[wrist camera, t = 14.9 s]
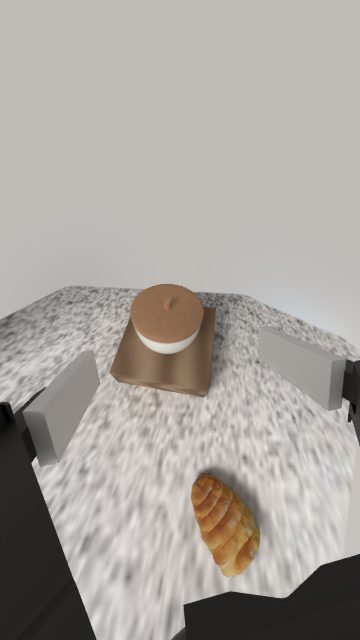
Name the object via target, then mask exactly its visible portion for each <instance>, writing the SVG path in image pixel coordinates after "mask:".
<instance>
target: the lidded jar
mask: <svg viewBox="0 0 360 640" xmlns="http://www.w3.org/2000/svg"><path fill="white" fill-rule="evenodd" d="M130 315H131V320H132V323H133V325H134V328H135V330H136V333H137V335H138V337H139V338H140V340H141V341H142V342H143V344H144V345H145V346H147V347H148V348H149V349H151V350H153V351H155V352H157V353H162V354H173V353H177V352H180V351H182V350H183V349H185V348H186V347H188V346H189V345H190V344H191V343H192V342H193V340H194V339H195V337H196V336H197V334H198V331H199V328H200V325H201V323H202V320H203V315H204V310H203V305H202V303H201V301H200V299H199V298H198V297H197V296H196V295H195V294H194V293H193V292H192V291H190V290H189V289H186V288H185V287H182V286H178V285H173V284H160V285H156V286H152V287H150V288H147V289H145V290H144V291H142V292H141V293H140V294H139V295H138V296H137V297H136V298H135V299H134V301H133V303H132V305H131V310H130Z"/></svg>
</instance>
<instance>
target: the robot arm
mask: <svg viewBox="0 0 360 640" xmlns="http://www.w3.org/2000/svg"><path fill="white" fill-rule="evenodd" d="M259 359H260V360H261V361H263V362H264V363H265V364H267V365H268V366H269V367H271V368H272V369H273V370H275V371H276V372H277V373H279V374H280V375H281V376H283V377H284V378H285V379H287V380H288V381H289V382H291V383H292V384H293V385H295V386H296V387H297V388H299V389H300V390H301V391H303V392H304V393H305V394H307V395H308V396H309V397H311V398H312V399H313V400H315V401H316V402H317V403H318V404H320V405H321V406H322V407H324V408H325V409H326V410H328V411H329V410H334V409H339V408H341V406H342V397H343V398H345V399H346V400H348V401H350V404H349V413H348V422H351V420H352V421H353V424H354V428H355V431H356V435H357V438H358V441H359V445H360V360H358V361H355V362H352V361H350V360H348V359H346V358H343V357H341V356H338V355H336V354H333V353H331V352H329V351H326V350H324V349H321V348H319V347H316V346H314V345H312V344H309V343H307V342H304V341H302V340H299V339H297V338H295V337H292V336H290V335H287V334H285V333H282V332H280V331H278V330H275V329H273V328H270V327H268V326H266V327H259ZM99 385H100V380H99V376H98V371H97V366H96V361H95V357H94V352H93V350H91V351H84V352H82V353H81V354H80V355H79V356H78V357H77V358H76V359H75V360H74V361H73V362H72V363H71V364H70V365H69V366H68V367H67V368H66V369H65V370H64V371H63V372H62V373H61V374H60V375H59V376H58V377H57V378H56V379H55V380H54V381H53V382H52V383H51V384H50V385H49V386H48V387H46V388H43V389H42V390H40V391H39V392H37V393H36V394H35V395H33V396H32V397H31V398H30V399H29V401H27V402H26V403H25V404H24V406H22V407H21V408H20V409H19V410H18V411H17V412H16V413H15V414H14V415H13V412H12V409H11V406H10V404H9V403H8V402H0V640H96V637H95V634H94V632H93V629H92V626H91V623H90V621H89V618H88V615H87V612H86V610H85V607H84V604H83V602H82V599H81V596H80V594H79V591H78V588H77V586H76V583H75V581H74V579H73V577H72V574H71V571H70V568H69V566H68V563H67V560H66V557H65V555H64V552H63V549H62V546H61V544H60V541H59V538H58V536H57V533H56V530H55V527H54V525H53V522H52V519H51V516H50V514H49V511H48V508H47V505H46V503H45V500H44V497H43V494H42V492H41V489H40V486H39V484H38V481H37V478H36V475H35V473H34V470H33V467H32V464H31V463H32V461H33V460H34V458H35V457H36V456H37V459H38V462H39V465H40V466H46V465H51V464H56V463H59V461H60V459H61V457H62V455H63V454H64V452H65V450H66V448H67V446H68V444H69V442H70V440H71V438H72V436H73V434H74V433H75V431H76V429H77V427H78V425H79V423H80V421H81V419H82V417H83V415H84V413H85V411H86V410H87V408H88V406H89V404H90V402H91V400H92V398H93V396H94V394H95V392H96V390H97V389H98V387H99ZM184 616H185V627H184V628H183V629H182V630H181V631H180V632H179V633H177V634H176V635H175V636H174V637H173V638H172V640H360V554H358V555H355V556H351V557H348V558H344V559H341V560H338V561H334V562H331V563H327V564H324V565H321V566H320V567H319V568H318V569H317V570H315V571H314V572H313V573H312V574H311V575H310V576H309V577H308V578H307V579H306V580H305V581H304V582H303V583H302V584H301V585H300V586H299V587H298V588H297V589H296V590H295V591H294V592H293V593H291V594H290V595H289V596H288V597H286V598H274V597H267V596H260V595H253V594H246V593H239V592H231V591H230V592H227V593H223V594H220V595H216V596H213V597H209V598H206V599H202V600H199V601H195V602H192V603H188V604H185V605H184Z"/></svg>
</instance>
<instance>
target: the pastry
mask: <svg viewBox="0 0 360 640" xmlns="http://www.w3.org/2000/svg"><path fill="white" fill-rule="evenodd" d="M191 501H192V504H193V507H194V511H195V517H196V520H197V523H198V525H199V527H200V530H201V537H202V540H203V541H204V542H205V543H206V545H207V546H208V548H209V550H210V551H211V553H212V555H213V558H214V561H215V563H216V564H217V565H218V566H219V567H220V568H221V571H222V574H223V575H224V576H226V577H234V576H236V575H240V574H241V573H243V572H244V570H245V569H246V568H247V567H248V566H249V565H250V564H251V562H252V561H253V560H254V557H255V554H256V552H257V551H258V548H259V543H260V531H259V528H258V527H257V525H256V523H255V521H254V518H253V515H252V513H251V511H250V510H249V508H248V507H247V506H246V505H245V504H244V503H243V502H242V500H241V499H240V497H239V496H238V495H237V494H236V493H234V492H233V491H232V490H231V489H230V488H228V487H227V486H226V485H225V484H223V483H222V482H221V481H220V480H218V479H217V478H215V477H214V476H210V475H206V474H202V475H200V476H199V477H198V478H197V480H196V481H195V483H194V484H193V486H192V493H191Z"/></svg>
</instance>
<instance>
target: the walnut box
mask: <svg viewBox="0 0 360 640" xmlns="http://www.w3.org/2000/svg"><path fill="white" fill-rule="evenodd" d="M215 309H216V308H210V307H203V310H204V315H203V320H202V323H201V325H200V328H199V331H198V334H197V336H196V337H195V339H194V340H193V342H192V343H191V344H190V345H189V346H188V347H186V348H185V349H183V350H182V351H180V352H177V353H173V354H162V353H157V352H155V351H153V350H151V349H149V348H148V347H147V346H145V345H144V344H143V342H142V341H141V340H140V338H139V337H138V335H137V333H136V330H135V328H134V325H133V323H132V320H131V317H130V319H129V322H128V325H127V327H126V330H125V332H124V335H123V338H122V340H121V343H120V346H119V348H118V351H117V354H116V356H115V359H114V362H113V364H112V367H111V370H110V372H109V373H110V374H111V375H112V376H113V377H114V378H115V379H116V380H117V381H118V382H122V383H128V384H133V385H139V386H144V387H150V388H155V389H160V390H166V391H171V392H177V393H182V394H188V395H193V396H199V397H205V395H206V393H207V392H208V390H209V378H210V367H211V355H212V343H213V332H214V320H215Z"/></svg>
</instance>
